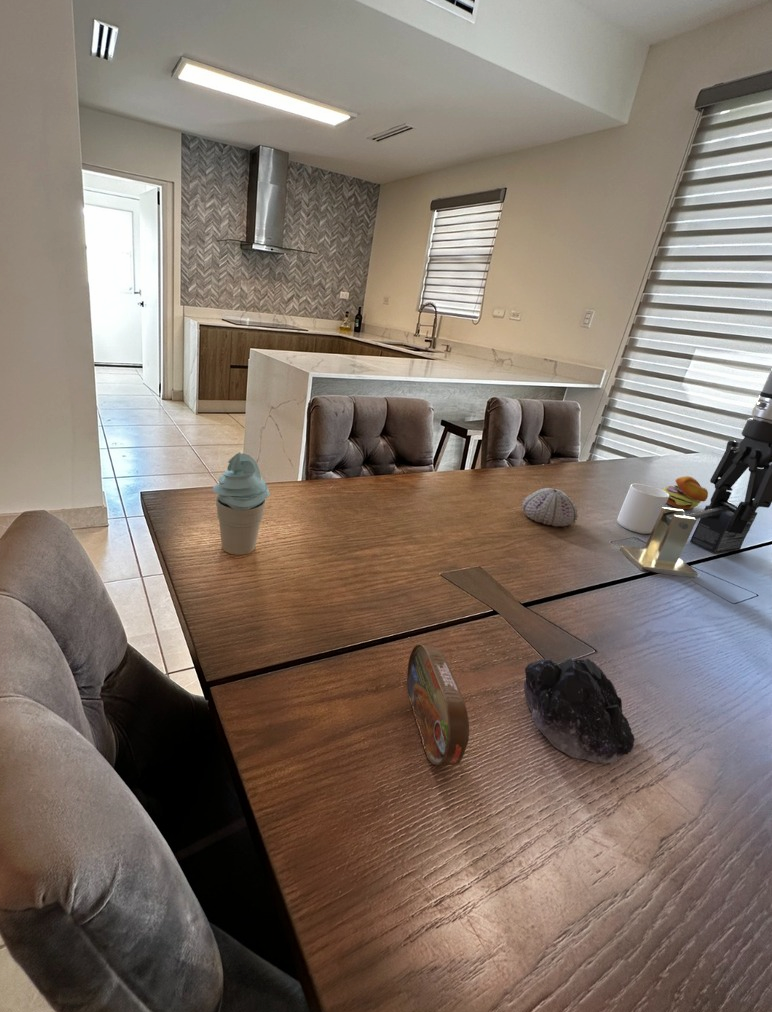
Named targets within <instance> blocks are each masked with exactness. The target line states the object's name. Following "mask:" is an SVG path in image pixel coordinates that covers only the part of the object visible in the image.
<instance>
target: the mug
mask: <svg viewBox="0 0 772 1012" xmlns="http://www.w3.org/2000/svg"><path fill="white" fill-rule="evenodd" d="M668 498H669V494H668V493H667V492H665V491H663V490H662V489H661V488H658V487H656V486H653V485H648V484H643V483H631V484H630V486H629V488H628V492H627V494H626V496H625V498H624V501H623V504H622V506H621V508H620V511H619V513H618V516H617V524H618V525H619V526H620V527H622V528H624V529H626V530H628V531H631V532H633V533H637V534H642V535H650V534H651V532H652V530H653V527H654V525H655V523H656V521H657V518H658V516H659V514H660V511H661V509H662V507H666V505H667V504H668V503H667V501H668Z"/></svg>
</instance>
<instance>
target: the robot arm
mask: <svg viewBox="0 0 772 1012" xmlns="http://www.w3.org/2000/svg"><path fill="white" fill-rule="evenodd" d="M750 415H751V417H749V418H747V420H746V421H745V422H746V423H745V424H744V427H743V428H742V431H741V436H743V439H741V441H738V440H737V441H736V440H728V441H727V443H726V447H725V450H724V453H723V455H722V457H721V459H720V461H719V463H718V464H717V466H716V468H715V470H714V472H713V474H712V476H711V478H710V480H709V481H710V484H713V485H714V492H713V493H712V495H711V498H710V503H709V504H708V505H709V507H708V509H707V510H709V509H713V508H717V507H722V506H721V505H719V503H718V502H719V500H721V499H725V500H727V501H728V502H729V500H730V497H731V495H732V491H733V490H734V489H733V488H732V487H733V486H734V485H735V484H736V483H737V481H738V480H739V479H740V478H741V476H742V475H743V474H744V473H745V472H746V471H747V470H748V472H750V473H749V477H748V481H747V487H746V491H745V497H744V501H740V502H739V504H738V505H737V506H738V507H737V509H736V511H735V513H734V515H733V517H732V519H731V521H730V523H729V525H728V527H727V529H726V531H728V532H732V533H740V534H742V532H743V530H744V528H745V526H746V524H747V522H748V521H750V520H751V519H752V517H753V515H754V513H755V512H756V511H757V509H758V508H767V509H768V508H770V507H771V505H772V368H771V369H770V372H769V374H768V376H767V378H766V380H765V383H764V384H763V387H762V390H761V392H760V394H759V395H758V398H757V400H756V402H755V404H754V406H753V408H752V410H751V412H750ZM721 514H722V513H721ZM721 514H717V515H712V516H708V517H706V518H711V519H719V518H720V516H721Z"/></svg>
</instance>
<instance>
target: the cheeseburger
mask: <svg viewBox="0 0 772 1012" xmlns="http://www.w3.org/2000/svg"><path fill="white" fill-rule="evenodd" d="M675 483H676V485H669V486H665V487H664V488H663V489H661V490H663V491H665V492H667V493H668V494H669V498H668V501H667V503H666V504H668V505H670V506H672V507H674V508H675V509H681V510H693V509H694V508H696V507H698V505H700V503H702V502H706V501H707V499H708V496H709V492H708V490H707V488H706V487H702V485H700V483H699V482H698V480H696V479H695V478H694V477H692V476H688V475H686V476H680V477H677V478H676V479H675Z"/></svg>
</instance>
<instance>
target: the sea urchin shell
mask: <svg viewBox="0 0 772 1012" xmlns="http://www.w3.org/2000/svg"><path fill="white" fill-rule="evenodd" d="M521 509H522V512H523V513H524V515H526V516H527V517H528V518H529V519H530V520H532V521H535V522H537V523H541V524H543V525H547V526H552V527H567V526H568V527H569V526H571V525H573V524H574V523H576V521H577V520H578V517H579V516H578V509H577V506H576V505H575V502H574V501H573V500H572V498H570V496H569V495H568V494H567V493H565V492H563V491H562V490H560V489H556V488H551V487H545V488H540V489H537V490H536V491H534V492H532V493H530V494H529V495H527V496H526V497H525V498H524V499H523V501H522V504H521Z"/></svg>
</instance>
